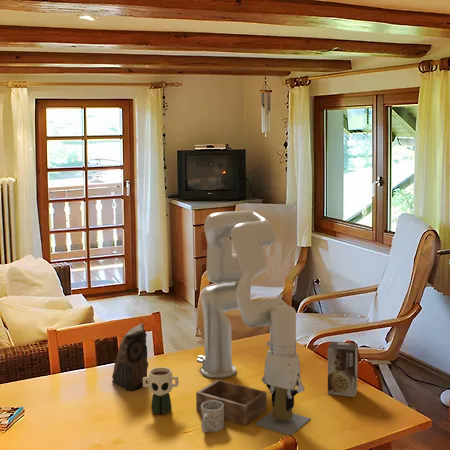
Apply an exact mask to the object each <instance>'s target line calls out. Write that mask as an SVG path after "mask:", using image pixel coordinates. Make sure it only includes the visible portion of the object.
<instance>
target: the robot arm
mask: <svg viewBox="0 0 450 450" xmlns="http://www.w3.org/2000/svg"><path fill="white" fill-rule="evenodd" d="M204 220H205V221H204V225H203V229H204V235H205V239H206V243H207V246H206V247H207V249H206V278H207V280H208V281H209V283H210V282H211V283H213V284H214V285H209V286H207V287H205V288H204V289H203V290H202V292H201V293H200V302H201V308H202V312H203V313H202V314H203V329H204V355H202V354H200V355H198V356H197V361H196V362H197V363H198V364H201V365H202V366H201V367H200V373H201V375H203V376H205V377H208V378H212V379H223V378H224V379H226V378H228V377H232V376H233V375H235V374H236V373H237V367H236V366H235V365H234V364H233V363H232V362H233V361H232V360H233V359H232V357H233V356H232V353H233V351H232V348H233V347H232V322H231V320H230V318H229V317H228V316H227V315H226V312H229V311H235V310H238V311H239V314H240V316H241V319H242V321H243V323H244V324H245V325H246V326H247V327H249V328H251V329H253V328H259V327H266V326H269V340H267V341H266V346H267V347H269V350H267V352H266V356H265V362H264V371H263V372H264V374H263V377H262V378H261V382H262V383H263V384H265V386H266V388H267V389H268V390H269V393H270V394H271V405H272V408H273V407H274V401H275V393H276V391H275V390H274V386H275V387H279V388H282V389H286V390H287V394H288V398H286V410H287V411H289V410H290V409H292V410H293V408H294V407H295V396H296V395H298V394H300V393H302V392H304V391H305V390H306V388H305V386H304V384H303V382H302V379H301V376H302V375H301V365H300V364H301V363H300V359H299V355H298V354H299V353H298V352H297V311H296V309H295V307H293V306H291V305H288V304H287V303H286V302H285V301H284V300H283V299H281V298H270V299H263V300H262V299H261V300H257V301H256V300H255V301H252V299H251V292H252V289H251V288H252V281H253V280H254V279H256V278H257V277H259V276H261V275H262V274H263V273H266V271H267V270H268V268H269V262H268V259H267V256H266V254H265V252H264V248H265V247H266V248H267V247H271V246H273V244H274V243H275V242H276V238H277V237H276V235H277V234H276V230H275V228H274V226H273V224H272V223H271V222H270V221H269V220H268V219H267V218H265V217H264V216H263V215H261V214H259V213H258V212H256V211H254V210H252V209H251V210H249V209H245V210H235V211H234V210H232V211H220V212H219V211H218V212H214V213H211V214H209V215H207V217H205V219H204ZM233 248H234V252H235V253H233ZM296 387H297V388H296Z"/></svg>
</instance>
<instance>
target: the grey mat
mask: <svg viewBox="0 0 450 450" xmlns="http://www.w3.org/2000/svg"><path fill="white" fill-rule="evenodd" d="M272 414H273V410H271V411H270V412H269V413H267V414H266V415H265V416H263V417H262V418H261V419H259V420H258V421H257V422H255V423H254V425H255V426H256V427H259V428H265V429H267V430H270V431H274V432H278V433H281V434H283V435H287V436H290V435H291V436H293V435H294V434H296V432H297V431H299V429H301V428H302V427H303V426H304V425H306V424H307V423H308V422H309V421H311V417H308V416H304V415H301V414H297V413H294V412H292V414H293V417H292V418H291V419H289V420H277V419H275V418H273V416H272ZM291 436H290V437H291Z"/></svg>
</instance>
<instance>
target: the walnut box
mask: <svg viewBox="0 0 450 450" xmlns="http://www.w3.org/2000/svg"><path fill="white" fill-rule="evenodd" d="M267 395H268V394H267V391H263V390H260V389H256V388H253V387H249V386H244V385H241V384H237V383H233V382H229V381H226V380H222V379H220V378H217V379H216V380H215V381H213V382H212V383H210V384H208V385H207V386H205V387H203V388H201V389H199V390H198V391H196V392H195V398H196V399H195V400H196V401H195V402H196V404H195V405H196V406H195V407H196V408H195V409H196V412H199V413H201V404H202V403H204V402H206V401H220V402H222V403H223V404H224V421H229V422H232V423H234V424H237V425H241V426H244V427H246V426H247V425H249V424H250V423H253V421H254V420H256V419H257V418H258V417H260V416H261V415H262V414H264V413H265V412H266V411H267V407H268V406H267V402H268V401H267Z"/></svg>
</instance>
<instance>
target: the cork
mask: <svg viewBox="0 0 450 450" xmlns="http://www.w3.org/2000/svg"><path fill="white" fill-rule="evenodd" d="M274 390H275V391H276V393H275V401H274V407H272V408H273V409H272V411H273V414H272V416H273V418H275V419H277V420H289V419H291V418H292V417H293V414H292V413H293V408H292V409H290V410H289V411H287V410H286V398H288V394H287V390H286V389H282V388H279V387H275V386H274Z"/></svg>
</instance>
